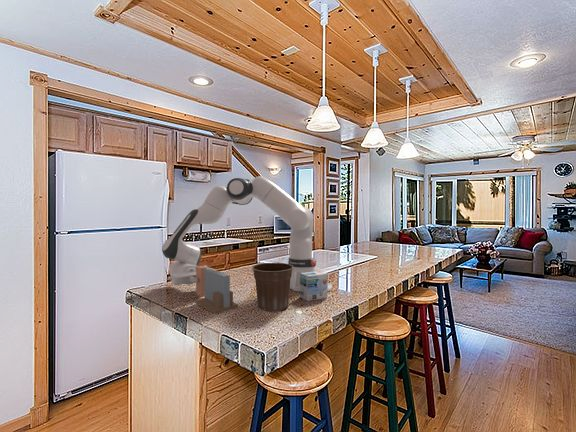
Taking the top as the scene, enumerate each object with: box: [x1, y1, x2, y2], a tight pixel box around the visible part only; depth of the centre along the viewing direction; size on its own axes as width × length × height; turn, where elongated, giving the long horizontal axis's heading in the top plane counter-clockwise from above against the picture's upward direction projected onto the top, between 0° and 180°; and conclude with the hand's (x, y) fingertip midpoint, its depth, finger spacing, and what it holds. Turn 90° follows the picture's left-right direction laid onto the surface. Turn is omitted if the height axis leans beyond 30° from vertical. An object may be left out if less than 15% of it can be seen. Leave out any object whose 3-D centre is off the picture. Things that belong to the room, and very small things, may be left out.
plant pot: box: [251, 262, 293, 312], centre depth 129 cm, size 16×16×16 cm
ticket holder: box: [195, 268, 239, 315], centre depth 130 cm, size 16×10×14 cm, turn 41°
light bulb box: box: [299, 270, 329, 302], centre depth 142 cm, size 11×7×11 cm, turn 117°
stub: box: [195, 266, 208, 297], centre depth 140 cm, size 5×2×12 cm, turn 41°
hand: (202, 279), depth 140 cm, fingers closed on stub, 2 cm apart
